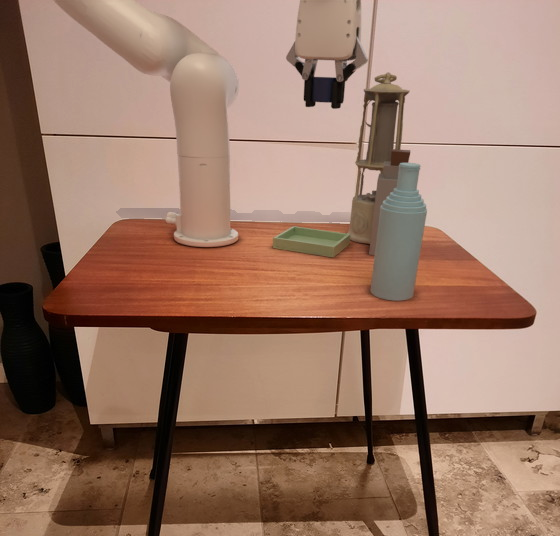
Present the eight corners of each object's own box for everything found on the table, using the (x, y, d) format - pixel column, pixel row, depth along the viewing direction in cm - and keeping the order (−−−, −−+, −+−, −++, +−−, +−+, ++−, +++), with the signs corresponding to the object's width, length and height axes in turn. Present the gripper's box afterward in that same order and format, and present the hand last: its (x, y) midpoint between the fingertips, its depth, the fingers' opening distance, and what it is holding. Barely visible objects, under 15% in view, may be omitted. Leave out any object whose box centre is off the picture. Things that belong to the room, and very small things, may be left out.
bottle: (365, 296, 83) (380, 164, 74) (376, 283, 88) (391, 159, 79) (408, 303, 81) (430, 169, 72) (416, 290, 86) (437, 163, 77)
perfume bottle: (405, 258, 101) (421, 154, 92) (368, 254, 102) (380, 151, 93) (405, 248, 107) (420, 149, 98) (370, 245, 108) (382, 147, 99)
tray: (272, 248, 104) (272, 237, 103) (292, 235, 112) (293, 226, 111) (333, 257, 100) (334, 246, 99) (349, 244, 108) (350, 234, 107)
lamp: (352, 245, 107) (369, 71, 93) (339, 228, 119) (352, 71, 104) (403, 245, 108) (427, 73, 94) (385, 228, 120) (405, 73, 105)
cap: (340, 102, 92) (342, 77, 91) (320, 102, 91) (321, 77, 89) (326, 101, 95) (328, 77, 94) (306, 101, 94) (308, 76, 92)
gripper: (390, -21, 85) (376, 109, 94) (291, -19, 90) (286, 104, 99) (377, -29, 79) (364, 111, 88) (272, -26, 84) (269, 105, 93)
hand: (323, 106), depth 93 cm, fingers closed on cap, 4 cm apart
